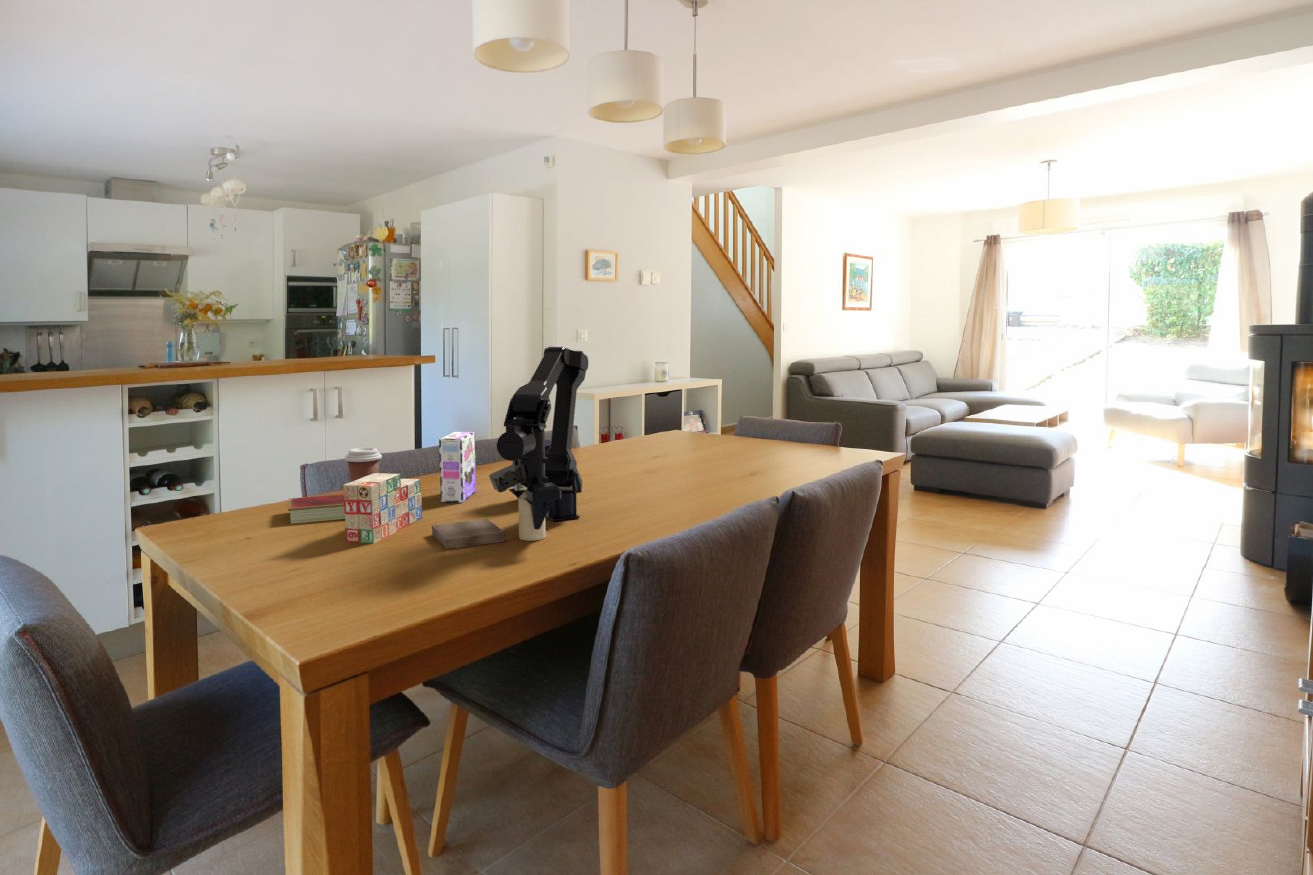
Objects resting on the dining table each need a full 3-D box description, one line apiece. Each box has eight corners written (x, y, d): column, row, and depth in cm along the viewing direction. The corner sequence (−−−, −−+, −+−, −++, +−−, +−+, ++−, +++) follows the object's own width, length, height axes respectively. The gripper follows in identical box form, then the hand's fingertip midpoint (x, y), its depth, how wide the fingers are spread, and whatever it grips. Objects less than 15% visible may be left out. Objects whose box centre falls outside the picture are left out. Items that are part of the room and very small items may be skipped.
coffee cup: (352, 491, 202) (350, 446, 200) (387, 490, 203) (385, 446, 201) (342, 498, 193) (339, 452, 191) (378, 498, 194) (376, 452, 192)
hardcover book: (290, 514, 179) (289, 496, 178) (383, 506, 188) (382, 489, 187) (288, 526, 168) (287, 507, 168) (388, 517, 177) (387, 499, 176)
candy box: (463, 503, 189) (461, 438, 187) (440, 503, 189) (437, 438, 187) (477, 491, 203) (475, 430, 200) (455, 491, 203) (453, 430, 201)
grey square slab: (487, 527, 166) (487, 518, 166) (504, 541, 156) (504, 531, 156) (432, 534, 160) (431, 525, 160) (446, 549, 150) (446, 539, 150)
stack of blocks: (397, 517, 176) (395, 465, 174) (422, 518, 175) (420, 466, 173) (345, 542, 155) (342, 483, 153) (373, 544, 154) (371, 485, 152)
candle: (550, 535, 161) (549, 489, 159) (537, 542, 155) (537, 494, 154) (527, 532, 162) (526, 487, 161) (514, 539, 157) (513, 492, 156)
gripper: (479, 449, 160) (481, 520, 163) (507, 463, 144) (509, 542, 147) (529, 445, 166) (530, 514, 168) (562, 458, 150) (563, 534, 152)
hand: (532, 525), depth 158 cm, fingers closed on candle, 6 cm apart
